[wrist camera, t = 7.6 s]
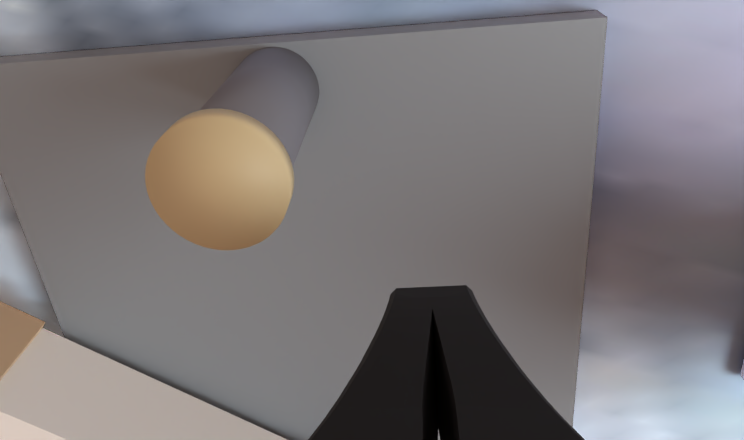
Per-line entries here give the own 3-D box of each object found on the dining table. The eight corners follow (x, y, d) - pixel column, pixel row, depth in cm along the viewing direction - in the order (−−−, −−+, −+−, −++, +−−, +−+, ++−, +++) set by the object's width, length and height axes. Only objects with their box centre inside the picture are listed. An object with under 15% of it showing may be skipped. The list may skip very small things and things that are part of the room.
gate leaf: (310, 443, 24) (296, 529, 21) (288, 471, 25) (271, 557, 22) (-1, 301, 22) (-70, 374, 18) (-14, 336, 22) (-84, 412, 19)
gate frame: (597, 6, 18) (713, 84, 11) (560, 483, 26) (611, 685, 20) (-22, 54, 19) (-250, 149, 12) (141, 491, 28) (59, 681, 21)
